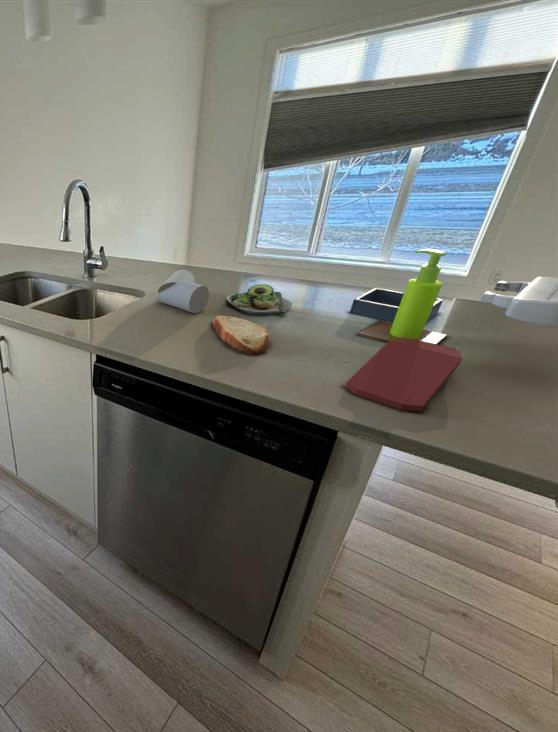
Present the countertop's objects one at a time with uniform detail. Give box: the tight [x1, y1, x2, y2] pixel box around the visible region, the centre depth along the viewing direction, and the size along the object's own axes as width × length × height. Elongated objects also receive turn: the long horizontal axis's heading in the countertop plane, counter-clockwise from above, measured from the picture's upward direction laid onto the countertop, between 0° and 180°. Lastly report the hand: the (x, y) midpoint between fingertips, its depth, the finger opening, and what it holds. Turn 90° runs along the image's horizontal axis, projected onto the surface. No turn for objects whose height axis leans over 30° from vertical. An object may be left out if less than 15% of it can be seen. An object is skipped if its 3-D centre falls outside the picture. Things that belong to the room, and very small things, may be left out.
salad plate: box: [225, 283, 294, 316], centre depth 122 cm, size 19×18×5 cm
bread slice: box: [212, 315, 272, 355], centre depth 105 cm, size 18×18×4 cm
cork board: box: [357, 319, 448, 345], centre depth 99 cm, size 14×12×1 cm
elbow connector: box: [155, 269, 210, 314], centre depth 130 cm, size 18×11×20 cm
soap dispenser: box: [390, 248, 448, 339], centre depth 94 cm, size 6×7×20 cm
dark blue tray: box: [349, 287, 444, 323], centre depth 110 cm, size 16×14×4 cm
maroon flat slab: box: [345, 338, 463, 412], centre depth 82 cm, size 12×5×25 cm
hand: (489, 290), depth 84 cm, fingers open, 8 cm apart
